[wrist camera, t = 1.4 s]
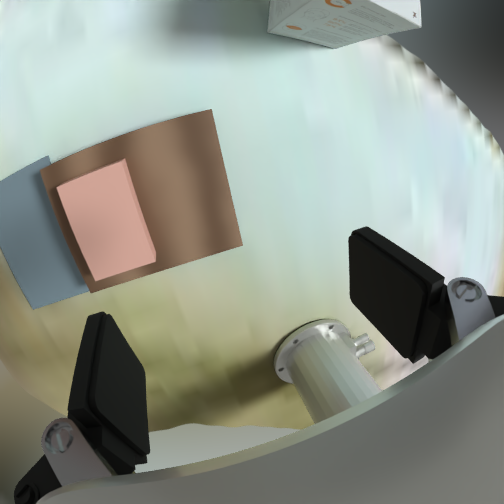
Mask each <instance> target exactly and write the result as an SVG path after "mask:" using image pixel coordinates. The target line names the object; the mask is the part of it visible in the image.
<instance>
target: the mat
mask: <svg viewBox="0 0 504 504" xmlns="http://www.w3.org/2000/svg"><path fill="white" fill-rule="evenodd" d="M49 165H51V162H50V159H49V156H46V157H44V158H42V159H40V160H38V161H36V162H34V163H32V164H30V165H28V166H27V167H25V168H23V169H21V170H19V171H17V172H16V173H14V174H12V175H10V176H9V177H7V178H5V179H3V180H2V181H0V247H1V250H2V252H3V254H4V256H5V258H6V260H7V262H8V264H9V267H10V269H11V270H12V272H13V274H14V276H15V278H16V280H17V282H18V284H19V286H20V288H21V289H22V291H23V293H24V295H25V296H26V298H27V300H28V302H29V303H30V305H31V307H32V308H33V309H36V308H39V307H42V306H45V305H49V304H52V303H55V302H58V301H61V300H64V299H67V298H70V297H73V296H76V295H79V294H82V293H85V292H88V291H89V289H88V287H87V285H86V283H85V281H84V279H83V277H82V275H81V273H80V271H79V269H78V267H77V265H76V262H75V260H74V258H73V256H72V254H71V252H70V249H69V247H68V245H67V243H66V240H65V238H64V236H63V233H62V231H61V228H60V226H59V223H58V221H57V218H56V216H55V213H54V211H53V208H52V205H51V202H50V200H49V197H48V194H47V191H46V188H45V185H44V182H43V179H42V176H41V173H40V170H41V169H43V168H45V167H47V166H49Z"/></svg>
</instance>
